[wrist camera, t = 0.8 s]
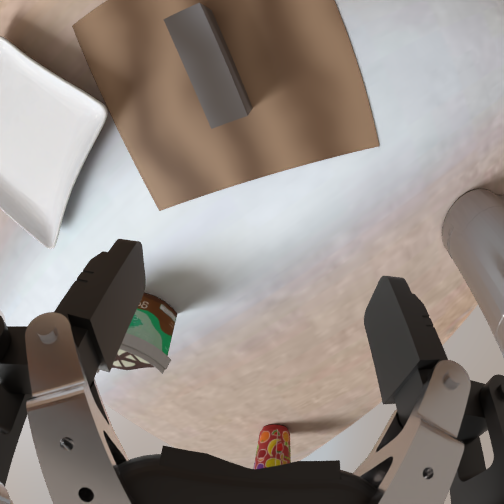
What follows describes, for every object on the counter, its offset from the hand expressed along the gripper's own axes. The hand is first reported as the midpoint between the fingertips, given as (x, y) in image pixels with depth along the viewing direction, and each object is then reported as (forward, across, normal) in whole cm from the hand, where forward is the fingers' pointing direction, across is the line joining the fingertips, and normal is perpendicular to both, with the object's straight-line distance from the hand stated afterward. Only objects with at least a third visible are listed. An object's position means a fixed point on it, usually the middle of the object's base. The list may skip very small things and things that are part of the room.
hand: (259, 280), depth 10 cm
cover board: (+20, +5, -6) cm, 22 cm away
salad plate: (+21, +28, +1) cm, 36 cm away
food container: (+21, +14, +24) cm, 35 cm away
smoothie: (+22, -11, +60) cm, 65 cm away
